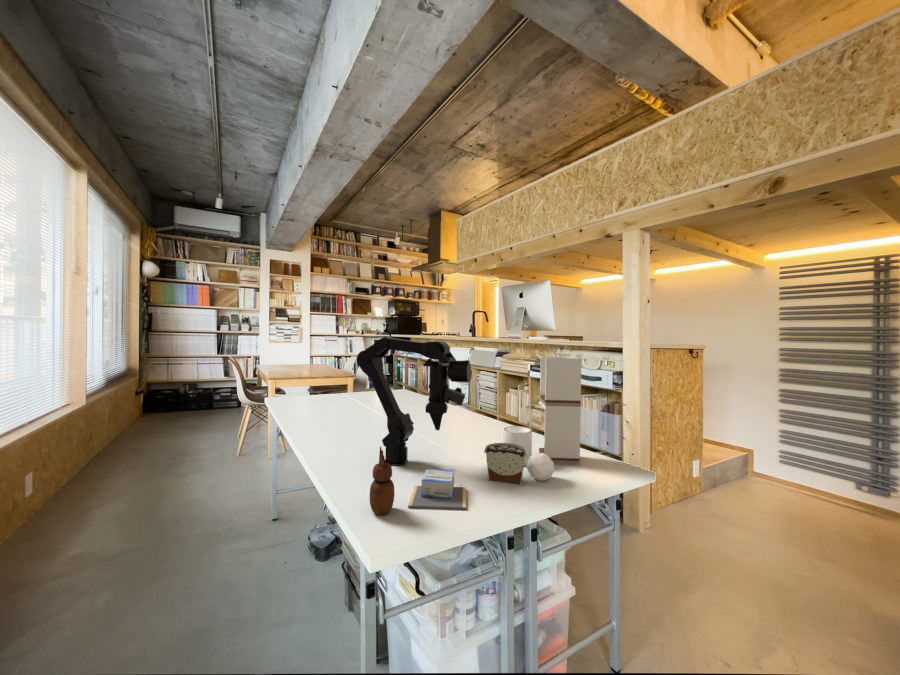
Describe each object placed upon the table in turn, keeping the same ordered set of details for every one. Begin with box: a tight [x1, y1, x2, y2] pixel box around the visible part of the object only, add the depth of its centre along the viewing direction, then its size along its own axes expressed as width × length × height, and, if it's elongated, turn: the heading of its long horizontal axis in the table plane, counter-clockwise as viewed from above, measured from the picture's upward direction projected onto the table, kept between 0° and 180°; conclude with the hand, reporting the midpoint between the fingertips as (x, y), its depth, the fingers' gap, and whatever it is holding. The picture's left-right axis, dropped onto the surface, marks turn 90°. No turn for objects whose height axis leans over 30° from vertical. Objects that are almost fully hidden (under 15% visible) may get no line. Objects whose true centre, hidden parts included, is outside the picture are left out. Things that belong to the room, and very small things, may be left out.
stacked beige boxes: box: [538, 355, 582, 466], centre depth 129 cm, size 11×11×35 cm
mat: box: [407, 485, 467, 511], centre depth 97 cm, size 14×12×1 cm
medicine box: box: [421, 468, 455, 498], centre depth 100 cm, size 8×4×9 cm
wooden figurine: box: [369, 446, 395, 516], centre depth 89 cm, size 7×6×15 cm
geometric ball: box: [526, 452, 555, 481], centre depth 111 cm, size 8×8×8 cm
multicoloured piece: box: [483, 442, 527, 486], centre depth 110 cm, size 12×6×10 cm, turn 71°
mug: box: [500, 425, 533, 467], centre depth 128 cm, size 14×10×11 cm
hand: (437, 430), depth 119 cm, fingers closed
